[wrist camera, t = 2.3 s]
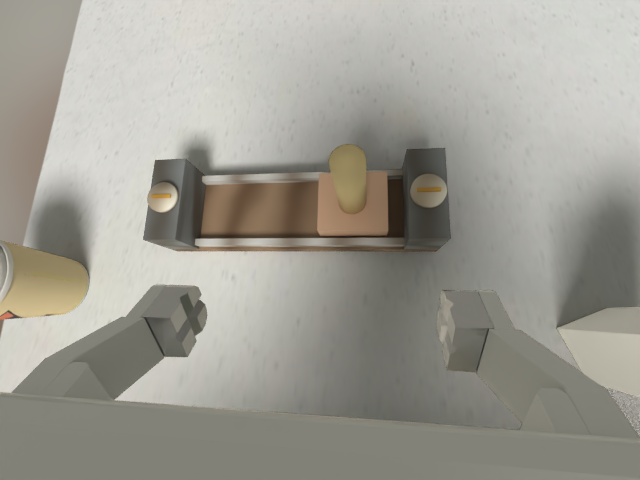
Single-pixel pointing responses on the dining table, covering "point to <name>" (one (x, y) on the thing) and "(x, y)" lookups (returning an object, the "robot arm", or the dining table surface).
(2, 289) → the coffee cup
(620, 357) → the milk
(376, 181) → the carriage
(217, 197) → the rail track
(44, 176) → the dining table surface
